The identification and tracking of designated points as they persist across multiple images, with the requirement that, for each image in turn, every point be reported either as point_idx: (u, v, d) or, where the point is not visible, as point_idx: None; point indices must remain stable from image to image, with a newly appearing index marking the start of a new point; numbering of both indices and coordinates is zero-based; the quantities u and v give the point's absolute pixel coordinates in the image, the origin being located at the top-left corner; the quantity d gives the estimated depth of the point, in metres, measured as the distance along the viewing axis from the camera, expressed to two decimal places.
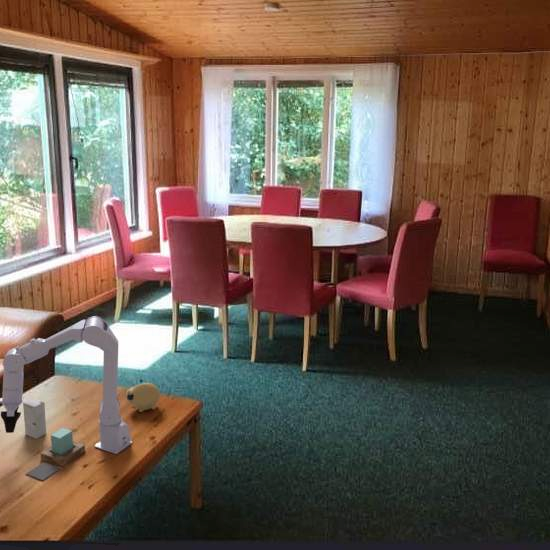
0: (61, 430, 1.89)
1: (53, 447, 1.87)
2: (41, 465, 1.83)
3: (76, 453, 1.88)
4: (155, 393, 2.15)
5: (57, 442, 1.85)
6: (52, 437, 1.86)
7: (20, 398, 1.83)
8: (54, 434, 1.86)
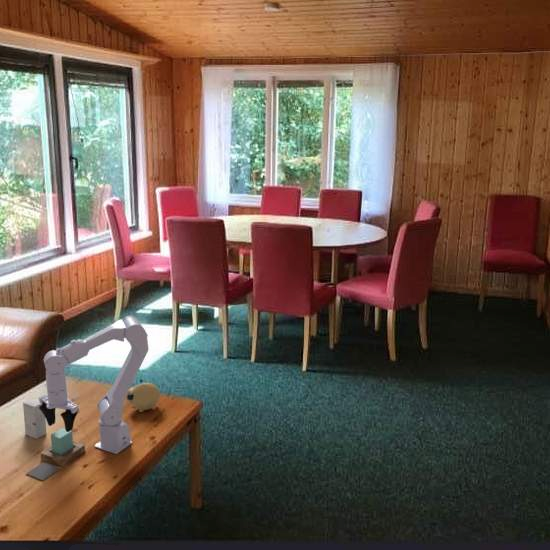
0: (61, 430, 1.89)
1: (53, 447, 1.87)
2: (41, 465, 1.83)
3: (76, 453, 1.88)
4: (155, 393, 2.15)
5: (57, 442, 1.85)
6: (52, 437, 1.86)
7: None
8: (54, 434, 1.86)
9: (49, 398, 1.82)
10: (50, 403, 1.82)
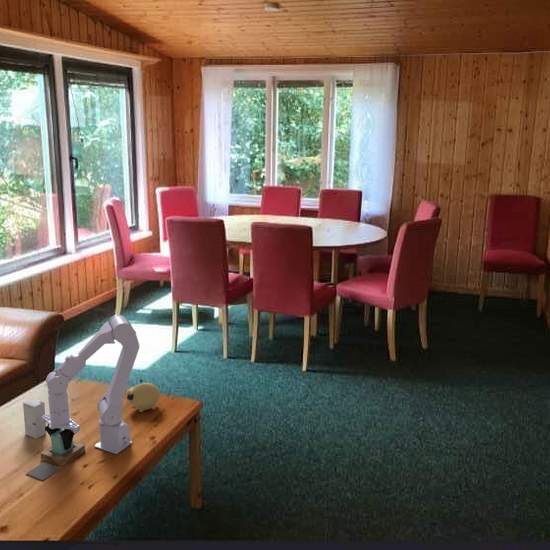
0: (61, 430, 1.89)
1: (53, 447, 1.87)
2: (41, 465, 1.83)
3: (76, 453, 1.88)
4: (155, 393, 2.15)
5: (57, 442, 1.85)
6: (52, 437, 1.86)
7: None
8: (54, 434, 1.86)
9: (51, 418, 1.84)
10: (52, 423, 1.84)
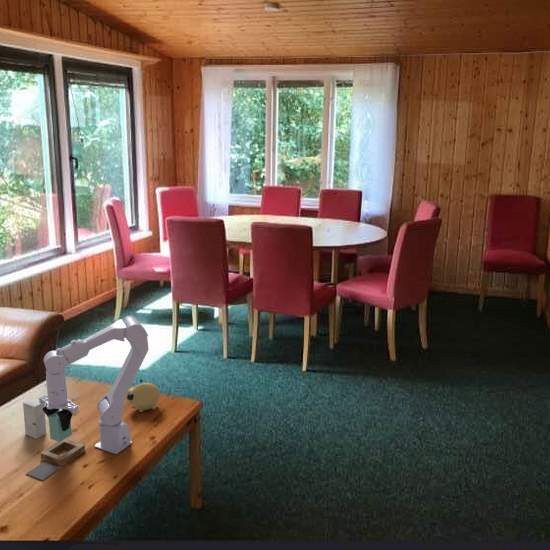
0: (59, 411, 1.87)
1: (51, 428, 1.85)
2: (41, 465, 1.83)
3: (76, 453, 1.88)
4: (155, 393, 2.15)
5: (55, 423, 1.83)
6: (50, 418, 1.84)
7: None
8: (52, 415, 1.84)
9: (49, 398, 1.81)
10: (50, 403, 1.82)
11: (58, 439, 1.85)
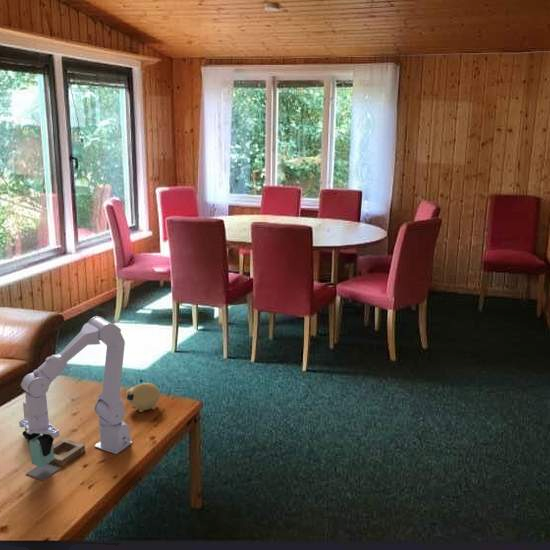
0: (41, 435, 1.79)
1: (32, 453, 1.77)
2: None
3: (76, 453, 1.88)
4: (155, 393, 2.15)
5: (36, 448, 1.76)
6: (31, 443, 1.76)
7: None
8: (33, 439, 1.77)
9: (29, 423, 1.74)
10: (30, 428, 1.74)
11: (39, 464, 1.77)
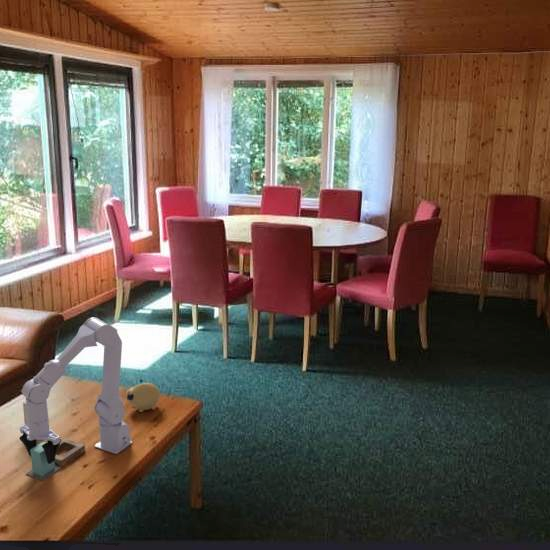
0: (41, 444, 1.80)
1: (33, 462, 1.78)
2: None
3: (76, 453, 1.88)
4: (155, 393, 2.15)
5: (37, 457, 1.77)
6: (32, 452, 1.77)
7: None
8: (34, 448, 1.78)
9: (30, 429, 1.74)
10: (31, 434, 1.75)
11: (40, 473, 1.78)
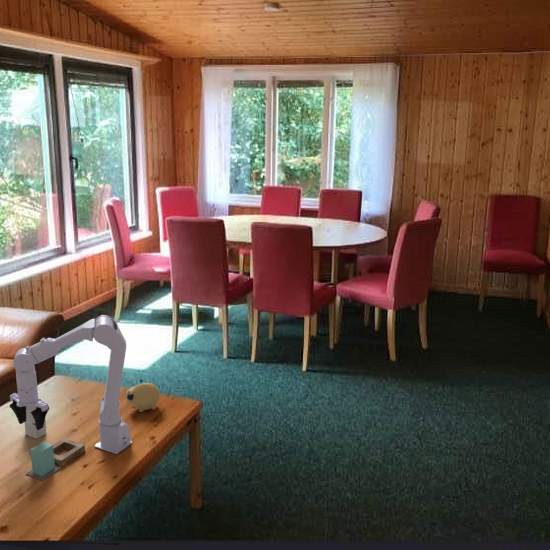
0: (41, 444, 1.80)
1: (33, 462, 1.78)
2: None
3: (76, 453, 1.88)
4: (155, 393, 2.15)
5: (37, 457, 1.77)
6: (32, 452, 1.77)
7: None
8: (34, 448, 1.78)
9: (19, 396, 1.81)
10: (20, 401, 1.82)
11: (40, 473, 1.78)
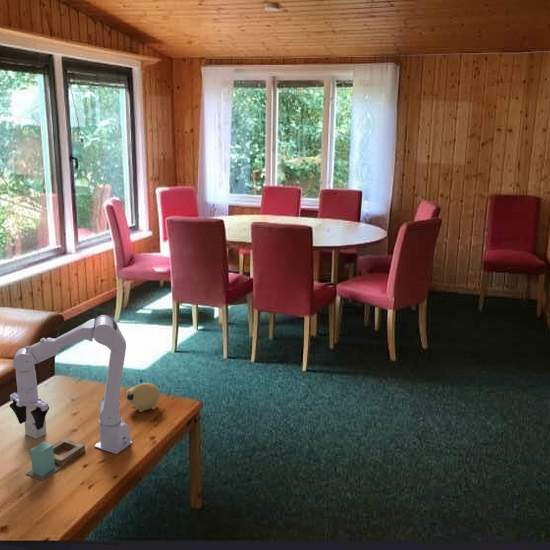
0: (41, 444, 1.80)
1: (33, 462, 1.78)
2: None
3: (76, 453, 1.88)
4: (155, 393, 2.15)
5: (37, 457, 1.77)
6: (32, 452, 1.77)
7: None
8: (34, 448, 1.78)
9: (19, 396, 1.82)
10: (20, 401, 1.82)
11: (40, 473, 1.78)
